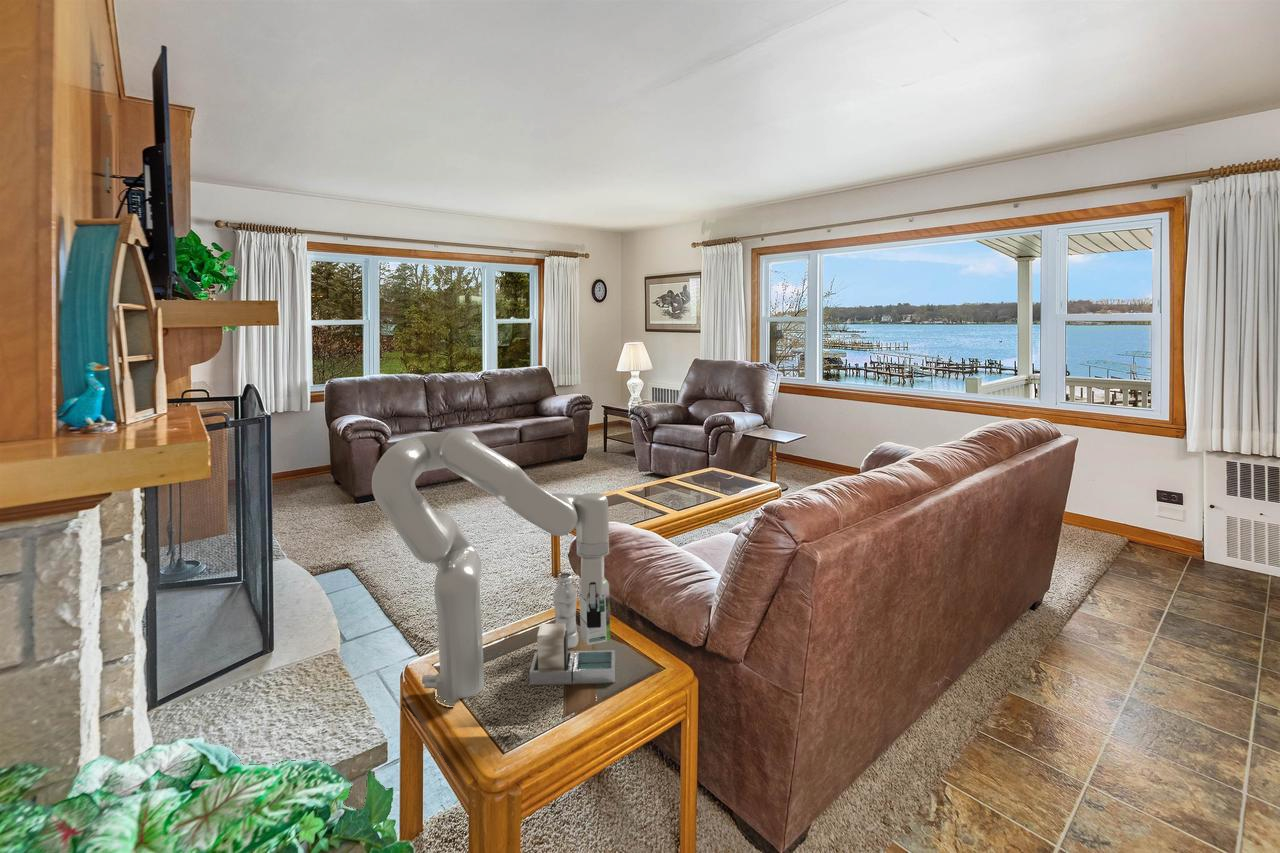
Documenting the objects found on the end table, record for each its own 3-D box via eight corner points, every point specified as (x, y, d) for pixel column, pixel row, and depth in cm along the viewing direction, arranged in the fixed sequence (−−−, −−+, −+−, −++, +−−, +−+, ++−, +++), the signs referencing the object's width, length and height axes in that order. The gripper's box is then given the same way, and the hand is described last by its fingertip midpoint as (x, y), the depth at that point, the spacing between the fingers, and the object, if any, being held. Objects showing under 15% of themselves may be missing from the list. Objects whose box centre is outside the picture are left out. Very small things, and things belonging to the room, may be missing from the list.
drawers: (528, 691, 141) (528, 672, 140) (534, 669, 151) (534, 651, 150) (615, 688, 142) (615, 670, 141) (615, 666, 152) (615, 649, 151)
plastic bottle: (580, 643, 164) (579, 571, 162) (575, 655, 157) (574, 580, 155) (557, 642, 165) (555, 570, 162) (551, 654, 158) (549, 579, 155)
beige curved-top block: (538, 680, 143) (537, 635, 141) (541, 667, 149) (540, 624, 147) (566, 679, 143) (565, 634, 142) (568, 666, 149) (567, 623, 148)
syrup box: (587, 646, 141) (585, 586, 140) (580, 635, 147) (578, 577, 145) (610, 641, 144) (609, 582, 142) (602, 631, 149) (601, 573, 147)
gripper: (578, 536, 151) (580, 605, 153) (574, 560, 134) (576, 637, 136) (609, 535, 151) (610, 604, 153) (608, 559, 134) (610, 636, 136)
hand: (594, 619), depth 145 cm, fingers closed on syrup box, 7 cm apart
